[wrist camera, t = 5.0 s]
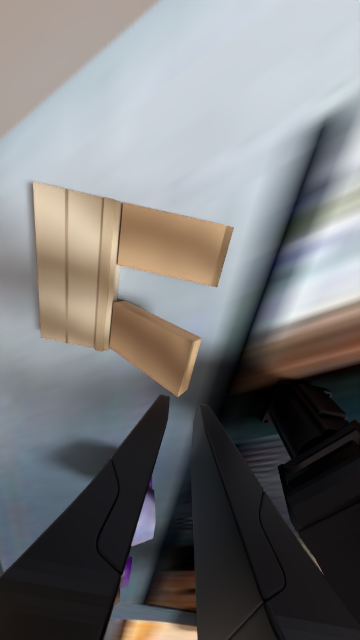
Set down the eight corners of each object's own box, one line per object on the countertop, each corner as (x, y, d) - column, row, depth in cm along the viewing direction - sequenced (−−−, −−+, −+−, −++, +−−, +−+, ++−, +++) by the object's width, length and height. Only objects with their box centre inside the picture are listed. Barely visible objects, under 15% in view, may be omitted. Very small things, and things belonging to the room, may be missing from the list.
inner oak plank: (187, 389, 16) (177, 397, 15) (120, 343, 21) (109, 347, 20) (201, 338, 15) (191, 343, 14) (125, 300, 19) (113, 302, 18)
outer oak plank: (215, 284, 19) (217, 287, 17) (122, 264, 18) (117, 264, 17) (230, 229, 17) (233, 227, 16) (128, 206, 17) (123, 202, 15)
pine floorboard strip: (112, 344, 22) (106, 352, 20) (50, 331, 21) (38, 338, 20) (126, 205, 17) (119, 200, 15) (46, 187, 17) (30, 180, 15)
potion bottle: (120, 435, 27) (72, 571, 15) (174, 458, 28) (165, 599, 17) (97, 469, 29) (42, 607, 18) (147, 489, 31) (125, 629, 19)
